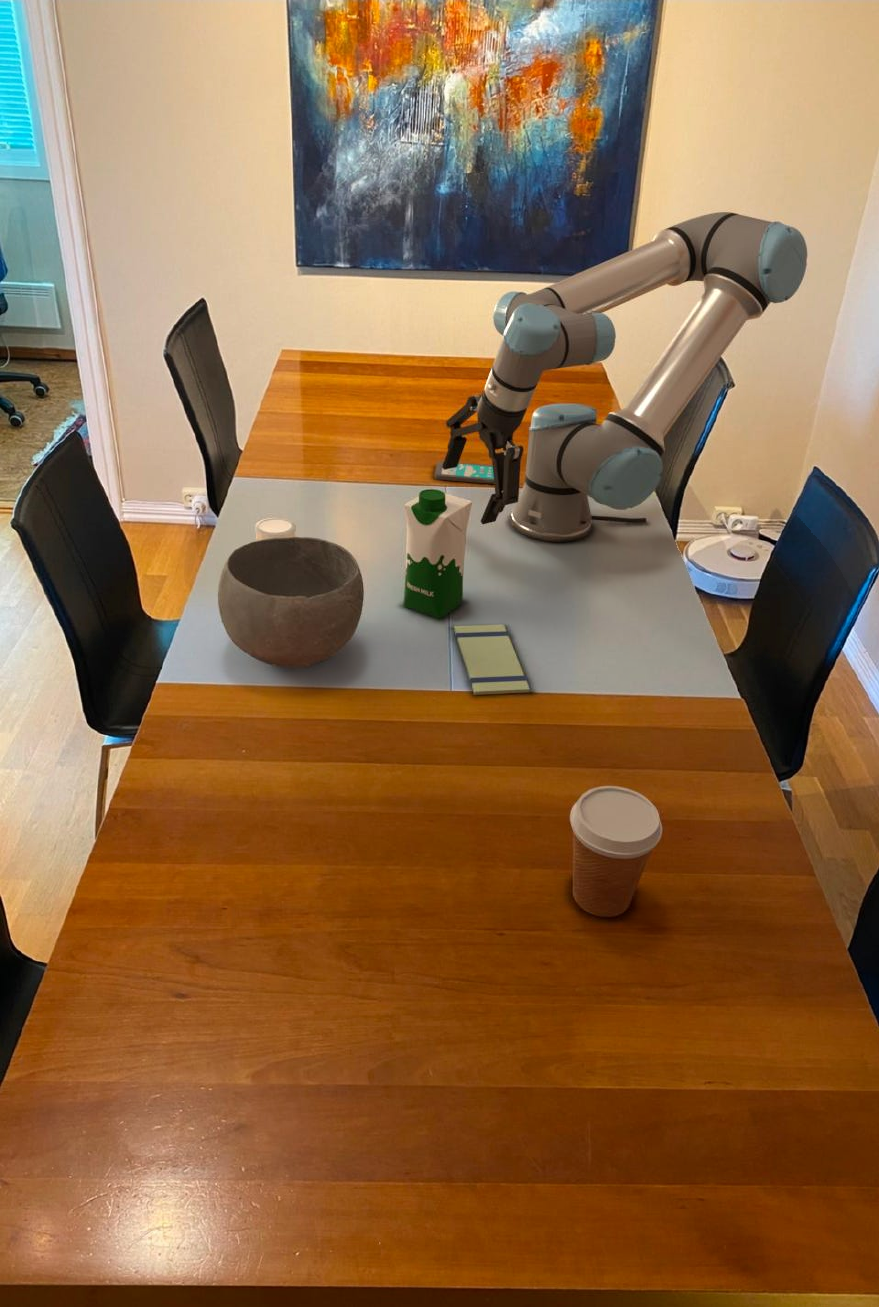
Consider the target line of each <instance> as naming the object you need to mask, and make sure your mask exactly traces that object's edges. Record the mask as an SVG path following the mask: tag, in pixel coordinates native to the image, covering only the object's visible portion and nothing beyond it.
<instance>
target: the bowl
mask: <svg viewBox="0 0 879 1307" xmlns="http://www.w3.org/2000/svg"><path fill="white" fill-rule="evenodd" d="M363 580H364V579H363V576H362V573H361V570H360V567H359V564H358V562H357V560H356V558H355V557H354V556H353V554H352V553H351V552H350V551H349V550H348V549H346V548H345V547H343V546H341V545H339V544H337V543H335V542H333V541H328V540H325V539H322V538H317V537H309V536H301V537H300V536H295V537H290V538H271V539H264V540H259V541H257V540H255V541H251V542H249V543H246V544H244V545H242V546H240V547H238V548H236V549H234V551H233V552H232V553H230V555H229V556H228V557H227V559H226V561H225V563H224V565H223V567H222V570H221V574H220V576H219V581H218V586H217V587H218V588H217V605H218V610H219V611H218V612H219V615H220V619H221V623H222V625H223V627H224V630H225V633H226V634H227V636H228V637H229V639H230V640H231V642H233V644H234V645H235V646H236V647H237V648H238V649H239V650H241V651H242V652H244V653H245V654H247V655H248V656H250V657H251V658H253V659H255V660H257V661H259V662H262V663H264V664H268V665H270V666H278V667H286V668H288V667H291V668H292V667H294V668H296V667H304V666H311V665H314V664H317V663H320V662H322V661H325V660H327V659H330V658H331V657H333V656H335V655H336V654H338V653H339V652H340V651H341V650H342V649H343V648H344V647H345V646H346V645H347V644H348V643H349V642H350V641H351V640H352V638H353V636H354V634H355V632H356V631H357V628H358V626H359V623H360V620H361V616H362V612H363V606H364V595H365V591H364V590H365V588H364V581H363Z"/></svg>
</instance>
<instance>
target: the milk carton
mask: <svg viewBox="0 0 879 1307" xmlns="http://www.w3.org/2000/svg"><path fill="white" fill-rule="evenodd" d="M472 505H473V501H472V500H469V499H465V498H462V497H460V496H456V495H452V494H449V493H446V492H444V491H442V490H440V489H433V488H429V489H423V490H421V491H419V494H418V496H416V497H414V498H413V499H412V500H410V501H408V502H406V503H405V504H404V512H405V519H406V549H405V550H406V551H405V552H406V553H405V573H404V574H405V576H404V592H403V607H405V608H408V609H410V610H413V611H416V612H418V613H421V614H424V615H427V616H428V617H429V616H430V617H432V618H434V619H437V620H440V619H442V618H443V617H445V616H446V615H447V614H449V613H450V612H451V611H453V610H454V609H455V608H457V607H458V606H459V605H461V604H462V603H463V602H464V600H463V599H464V598H463V597H464V595H463V593H464V592H463V591H464V590H463V589H464V587H463V586H464V569H465V555H466V545H467V544H466V542H467V529H468V525H469V520H470V515H471V510H472Z"/></svg>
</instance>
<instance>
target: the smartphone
mask: <svg viewBox="0 0 879 1307" xmlns="http://www.w3.org/2000/svg"><path fill="white" fill-rule="evenodd" d="M443 463H444V461H438V462H437V463H436V466H435V471H434V475H433V476H434V479H436V480H440V481H441V480H443V481H454V482H464V483H465V482H466V483H477V484H478V483H479V484H491V485H494V476H493V466H492V464H482V463H469V462H459V463H458V465H457V467H455V468H450V469H445V470H444V469H443V467H442V466H443Z"/></svg>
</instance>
